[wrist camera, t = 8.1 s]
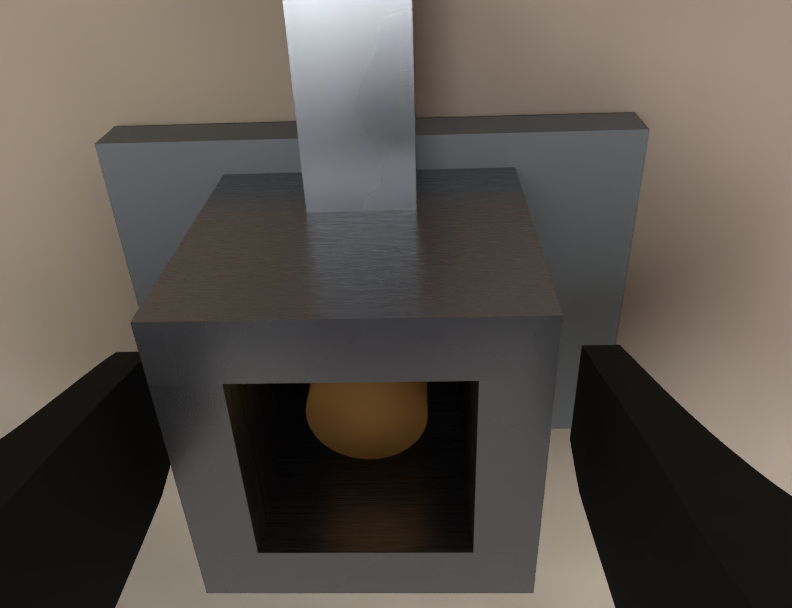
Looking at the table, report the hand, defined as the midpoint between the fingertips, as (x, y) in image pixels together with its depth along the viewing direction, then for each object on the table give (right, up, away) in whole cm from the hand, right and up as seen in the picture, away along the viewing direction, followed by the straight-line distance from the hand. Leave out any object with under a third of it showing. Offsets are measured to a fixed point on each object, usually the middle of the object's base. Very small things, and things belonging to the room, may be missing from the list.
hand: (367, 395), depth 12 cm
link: (0, +3, +1) cm, 4 cm away
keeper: (0, +2, +3) cm, 4 cm away
